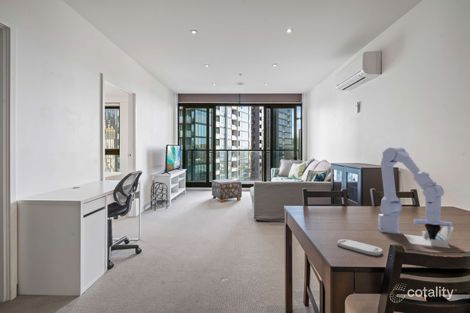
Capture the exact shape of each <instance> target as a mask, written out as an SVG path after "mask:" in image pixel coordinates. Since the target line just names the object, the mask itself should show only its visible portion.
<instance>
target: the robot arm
mask: <svg viewBox="0 0 470 313" xmlns="http://www.w3.org/2000/svg"><path fill="white" fill-rule="evenodd" d="M397 163H402V164H403V165H404V166H405V167H406V168H407V170H409V171H410V172H411V174H412V175H413V180H414V181H415V182H416V184H417V185H418V187H420V188H421V189H422V195H423V196H424V197H425V199H424V200H425V209H424V210H425V211H424V219H423V218H422V219H421V218H413V224H414V225H424V227H425V228H426V231H428V234H429V239H430V241H431V239H433V240H435V238H436V235H437V234H438V233H440V232H441V230H442V227H443V226H447V227H449V226H451V227H453V222H451V221H443V220H441V214H442V213H441V211H442V210H441V209H442V208H441V207H442V196H444V194H445V191H444V188H443V186H441V185H440V184H437V183H436V182H435V181H434V180H433V179H432V178H431V177H430V174H429V173H427V172H425V171H421V170H420V168H419V167H418V166H417V164H416V163H415V162H414V160H413V159H412V157H410V154H409V153H408V152H407V151H406V149H405V148H403V147H387V148H386V149H385V150H383V151H382V157H381V162H380V168H381V169H380V170H381V179H382V186H383V197H382V199H381V200H380V201H381V202H380V205H379V206H380V207H379V210H380V212H381V213H378V216H377V217H378V219H377V229H378V230H379V232H380V233H390V234H401V231H400V229H399V225H400V224H399V223H400V213H401V212H402V210H403V206H402V204H401V202H400V201H401V200H400V199H399V197H398V196H397V192H396V191H397V190H396V184H395V181H396V180H395V174H394V166H395V165H396V164H397Z"/></svg>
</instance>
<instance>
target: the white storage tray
mask: <svg viewBox="0 0 470 313" xmlns="http://www.w3.org/2000/svg"><path fill="white" fill-rule="evenodd" d="M403 235H404V236H405V238H406V239H407V241H408V242H409V243H410V244H413V245H421V246H428V247H429V246H431V247H439V248H449V249H451V246H449V240H448V239H446V238H445V237H444V236H443V235H441V234H440V232H438V234H437V235H436V237H438V238H439V239H441V240H433V239H431V241H430V239H429V234H428V231H427V230H422V231H421V235H413V234H412V235H411V234H403Z"/></svg>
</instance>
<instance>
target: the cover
mask: <svg viewBox="0 0 470 313" xmlns="http://www.w3.org/2000/svg"><path fill="white" fill-rule="evenodd" d="M454 229H455V227H453V226H452V227H451V226H449V227H447V226H442V227H441V229H440V231H439V234H440V235H441V236H442V237H444V238H445V239H446V240H447V241H449V239H450V238H451V236H452V233H453V232H454Z"/></svg>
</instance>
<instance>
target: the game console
mask: <svg viewBox="0 0 470 313" xmlns="http://www.w3.org/2000/svg"><path fill="white" fill-rule="evenodd" d="M336 244H337V246H338V247H341V248H343V249H347V250H349V251H354V252H357V253H362V254H364V255H368V256H374V257H377V256H381V255H382V254H383V252H384V250H383V249H382V248H381V247H379V246H375V245H373V244H368V243H364V242H359V241H356V240H352V239H343V238H342V239H341V238H340V239H339V240H337V243H336Z"/></svg>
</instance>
